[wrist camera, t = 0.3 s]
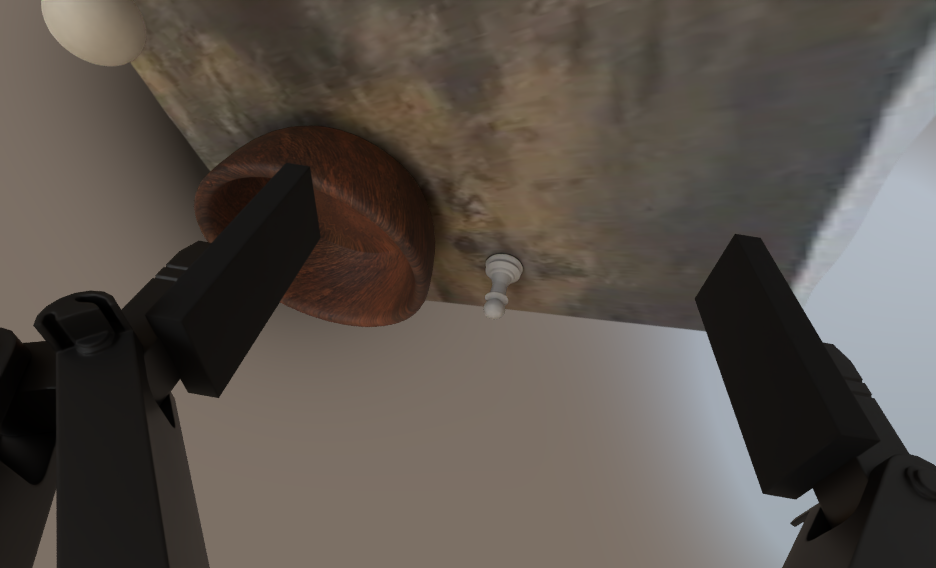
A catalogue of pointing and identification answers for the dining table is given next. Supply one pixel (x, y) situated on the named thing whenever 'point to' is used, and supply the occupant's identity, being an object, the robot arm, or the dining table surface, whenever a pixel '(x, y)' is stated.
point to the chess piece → (500, 282)
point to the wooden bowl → (337, 223)
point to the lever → (97, 29)
